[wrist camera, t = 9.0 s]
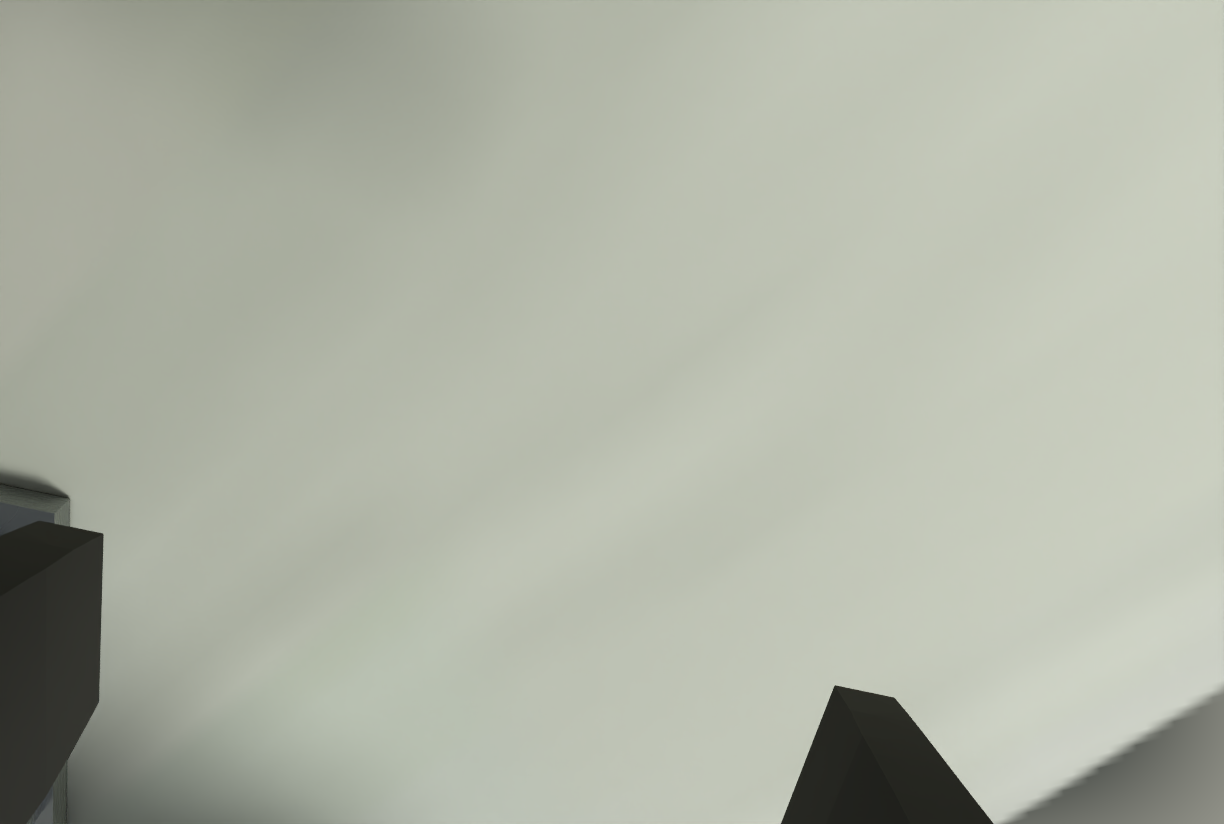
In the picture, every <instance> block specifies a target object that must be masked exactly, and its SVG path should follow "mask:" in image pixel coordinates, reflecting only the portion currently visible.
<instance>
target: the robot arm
mask: <svg viewBox="0 0 1224 824" xmlns="http://www.w3.org/2000/svg"><path fill="white" fill-rule="evenodd" d="M102 569H103V534H102V533H97V532H93V531H88V530H83V529H78V528H73V527H69V526H64V525H59V524H54V523H49V522H44V521H40V520H39V521H37V522H34V523H31V524H29V525H26V526H24V527H21V528H18V529H16V530H13V531H11V532H9V533H6V534H4V535H2V536H0V824H27V822H28V821H29V819H30V818H31V817H32V815H33V814H34V812H35V811H36V810H37V808H38V807H39V805H40V804H41V803H42V801H43V800H44V798H45V797H46V795H47V794H48V792H49V790H50V789H51V787H52V785H53V783H54V782H55V780H56V778H57V777H58V775H59V773H60V771H61V770H62V768H63V766H64V764H65V763H66V761H67V759H68V758H69V756H70V754H71V752H72V751H73V749H74V747H75V745H76V743H77V741H78V740H79V738H80V736H81V734H82V732H83V730H84V729H85V727H86V725H87V723H88V721H89V719H90V717H91V716H92V714H93V712H94V710H95V708H96V706H97V705H98V703H99V678H100V641H101V605H102ZM781 824H993V822H992V821H991V820H990V819H989V817H988V816H987V815H986V814H985V812H984V811H983V810H982V808H981V807H980V806H979V805H978V803H977V802H976V801H975V799H974V798H973V797H972V796H971V794H970V793H969V792H968V790H967V789H966V788H965V787H964V785H963V784H962V783H961V781H960V780H959V779H958V778H957V776H956V775H955V774H954V772H953V771H952V770H951V768H950V767H949V766H948V765H947V763H946V762H945V761H944V759H943V758H942V757H941V756H940V754H939V753H938V752H937V750H936V749H935V748H934V746H933V745H932V744H931V743H930V741H929V740H928V739H927V737H926V736H925V735H924V734H923V732H922V731H921V730H920V728H919V727H918V726H917V725H916V723H915V722H914V721H913V720H912V718H911V717H910V716H909V715H908V713H907V712H906V711H905V710H904V709H903V707H902V706H901V705H900V704H899V703H898V702H897V700H896V699H895V698H893V697H888V696H883V695H879V694H874V693H869V692H864V691H859V690H855V689H850V688H845V687H840V686H834V689H833V691H832V694H831V696H830V699H829V701H828V704H827V707H826V709H825V712H824V714H823V717H822V719H821V722H820V725H819V727H818V730H817V732H816V735H815V738H814V740H813V743H812V745H811V748H810V750H809V753H808V756H807V758H806V761H805V763H804V766H803V768H802V771H801V774H800V776H799V779H798V781H797V784H796V786H795V789H794V792H793V794H792V797H791V799H790V802H789V805H788V807H787V810H786V812H785V815H784V817H783V820H782V823H781Z"/></svg>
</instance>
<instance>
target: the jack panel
mask: <svg viewBox="0 0 1224 824" xmlns="http://www.w3.org/2000/svg"><path fill="white" fill-rule="evenodd" d="M39 520H40V521H44V522H49V523H54V524H59V525H64V526H69V527H70V499H69V498H64V497H59V496H54V495H50V494H45V493H40V492H35V491H30V490H26V489H21V488H16V487H11V486H7V485H2V484H0V536H2V535H4V534H6V533H9V532H11V531H13V530H16V529H18V528H21V527H24V526H26V525H29V524H31V523H34V522H37V521H39ZM66 789H67V761H66V763H65V764H64V766H63V768H62V770H61V771H60V773H59V775H58V777H57V778H56V780H55V782H54V783H53V785H52V787H51V789H50V790H49V792H48V794H47V795H46V797H45V798H44V800H43V801H42V803H41V804H40V805H39V807H38V808H37V810H36V811H35V812H34V814H33V815H32V817H31V818H30V819H29V821H28V822H27V824H66Z"/></svg>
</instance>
